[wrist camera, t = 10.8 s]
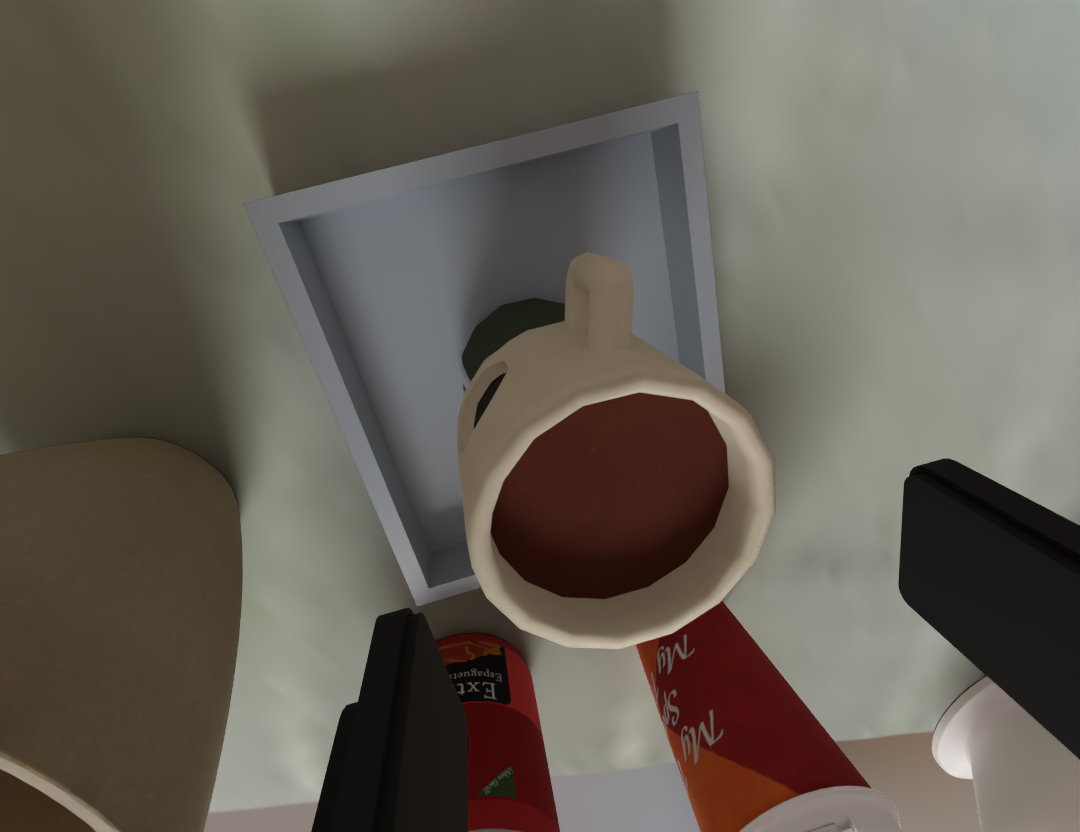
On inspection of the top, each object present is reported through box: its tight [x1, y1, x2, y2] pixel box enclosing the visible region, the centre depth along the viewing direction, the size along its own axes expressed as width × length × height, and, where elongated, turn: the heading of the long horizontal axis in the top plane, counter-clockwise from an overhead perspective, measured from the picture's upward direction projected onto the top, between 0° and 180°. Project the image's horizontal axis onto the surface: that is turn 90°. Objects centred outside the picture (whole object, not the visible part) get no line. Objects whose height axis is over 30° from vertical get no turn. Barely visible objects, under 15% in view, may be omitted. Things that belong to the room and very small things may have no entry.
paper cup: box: [636, 601, 902, 832], centre depth 25 cm, size 8×8×14 cm
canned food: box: [436, 633, 560, 832], centre depth 26 cm, size 8×8×11 cm
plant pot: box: [0, 438, 243, 832], centre depth 17 cm, size 15×15×16 cm
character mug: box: [457, 252, 776, 649], centre depth 17 cm, size 11×7×13 cm, turn 179°
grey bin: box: [244, 91, 725, 607], centre depth 22 cm, size 16×18×4 cm
